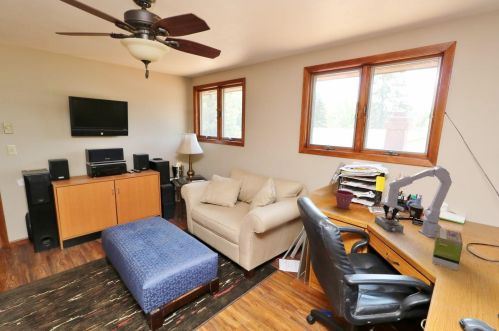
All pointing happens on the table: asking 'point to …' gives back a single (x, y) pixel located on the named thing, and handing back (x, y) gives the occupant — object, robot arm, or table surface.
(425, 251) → the table surface
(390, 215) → the spout can
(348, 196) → the plant pot
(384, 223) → the gearbox
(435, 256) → the tea box
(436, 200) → the robot arm
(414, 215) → the coffee mug
